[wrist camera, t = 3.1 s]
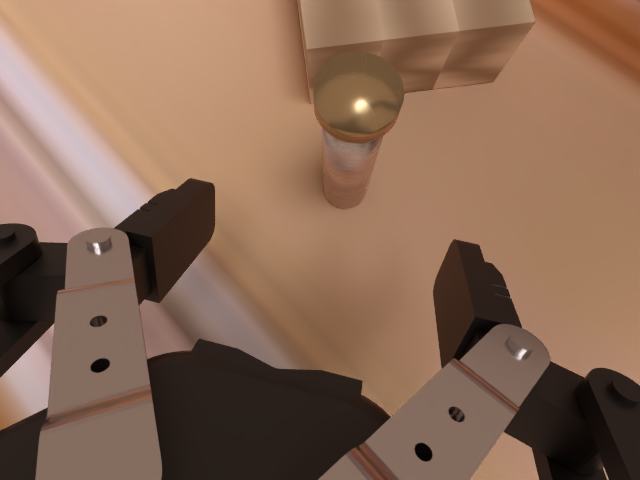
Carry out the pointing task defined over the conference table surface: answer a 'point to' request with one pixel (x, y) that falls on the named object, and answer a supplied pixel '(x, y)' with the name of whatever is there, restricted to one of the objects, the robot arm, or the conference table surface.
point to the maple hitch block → (417, 37)
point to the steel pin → (354, 120)
